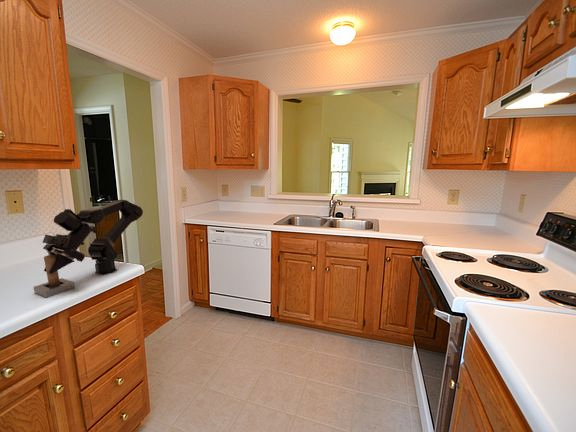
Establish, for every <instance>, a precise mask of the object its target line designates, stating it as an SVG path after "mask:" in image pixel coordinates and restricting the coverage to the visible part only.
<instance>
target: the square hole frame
mask: <svg viewBox="0 0 576 432" xmlns="http://www.w3.org/2000/svg"><path fill="white" fill-rule="evenodd" d="M59 281H60V285H58V286H55V287H52V288H49V283H48V282H45V283H41V284H38V285H34V286H33V291H34V294H36V295H38V296H41V297H44V298H45V299H47V298H50V297H54V296H57V295H60V294H61V293H64V292H68V291H72V290H74V289H75V288H76V287H75V282H74V281H71V280H68V279H65V278H62V277H61V278H59Z"/></svg>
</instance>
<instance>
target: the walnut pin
mask: <svg viewBox="0 0 576 432" xmlns="http://www.w3.org/2000/svg"><path fill="white" fill-rule="evenodd" d="M43 260H44V266H45V267H46V272H45V273H46V278H47V283H49V288H52V287H55V286H58V285H60V281H59V279H60V276H59V270H57V271H56V272H54V273H52V274H51V273H49V271H50V269H51V267H52V266H53V264H54V263H55V261H56V258H55V255H49V254H48V255H45V256H44V257H43ZM45 267H44V268H45Z"/></svg>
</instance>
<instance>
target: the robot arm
mask: <svg viewBox="0 0 576 432" xmlns="http://www.w3.org/2000/svg"><path fill="white" fill-rule="evenodd" d="M117 212H120V213H121V215H120V216H121V217H120V218H119V219H118V220H117V222H115V224H114V225H113V226H112V227H111V228H110V229H109V231H108V232H107V233H106V234H105V235H104V236H103V237H101V238H99V237H96V238H93V241H92V242H91V243H89V246H88V248H87V250H88V251H87V252H88V256H90V259H91V260H92V261H95V263H94V268H95V271H94V273H95V274H98V275H102V276H105V275H107V274H111V273H113V272H117V271H118V269H117V268H116V263H115V260H116V258H118V252H117V251H116V250H114V249H115V243H116V242H117V241H118V239H119V238H120V237H121V236H122V234H123V233H124V232H125V231H126V230H127V229H128V227H129V226H130V225H131V223H134V222H135V221H138V220H139V219H140V218H141V217H142V216H143V214H144V210H143V209H142V207H141V206H139V205H136V204H135V203H132V202H130V201H129V200H126V199H117V200H115V201H113V202H110V203H108V204H104V205H102V206H100V207H95V208H88V209H82V210H80V211H79V212H78V213H77V214H76V213H75V212H74V211H73V210H72V209H70V208H69V209H68V208H65V209H64V210H63V211H61V212H59V213H58V214H57V215H55V216H54V218H53V222H54V223H55V224H56V225H58V226H59V227H61V229H63V230H65V231H67V232H69V233H68V234H59V233H56V235H50V234H46V233H45V235H44V238H43V240H42V244H45V245H44V246H43V247H42V249H43V250H45V251H46V253H48V255H55V258H56V261H55V263H54V264H53V266H52V267H51V269H50V271H49V273H51V274H52V273H54V272H56V271H57V270H58V271H59V270H61V269H63V268H64V267H66V266H68V265H70V264H71V263H75V260H76V261H77V262H80V263H81V262H83V261H84V260H85V258H86V256H85V253H83V252H80V251H79V250H78V249H79V248H80V246H85V242H84V241H85V240H86V239H87V238H88V236H89V235H90V234H91V233H92V234H97V229H96V226H93V225H96V224H99V223H100V222H102V221H104V220H105V218H106V217H107V216H110V215H111V214H115V213H117ZM89 224H91V225H89ZM43 271H44V273H47V272H46V267H44V269H43Z"/></svg>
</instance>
